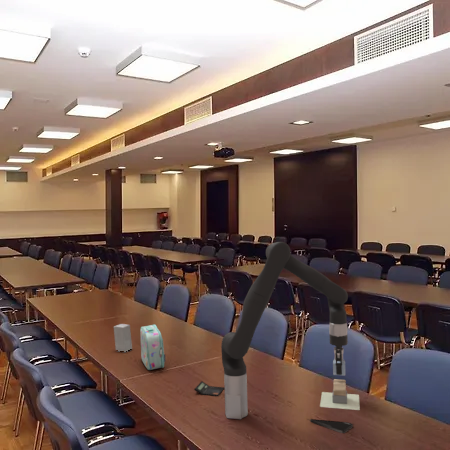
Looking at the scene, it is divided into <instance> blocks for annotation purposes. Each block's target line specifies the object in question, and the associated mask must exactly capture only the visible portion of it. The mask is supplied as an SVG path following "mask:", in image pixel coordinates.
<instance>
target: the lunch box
mask: <svg viewBox="0 0 450 450" xmlns="http://www.w3.org/2000/svg"><path fill="white" fill-rule="evenodd" d="M139 333H140V334H139V335H140V351H141V352H140V355H141V361H142V363H143V365H144V366H145V368H146V369H147V370H148V371H151V370H156V369H162V368H164V367H165V362H166V353H165V349H164V347H165V346H164V339H163V337H162V336H163V335H162V333H161V331H160V330H159V328H158V326H157V325H156V324H150V325H145V326H141V327H140V332H139Z"/></svg>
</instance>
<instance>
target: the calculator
mask: <svg viewBox="0 0 450 450" xmlns="http://www.w3.org/2000/svg"><path fill="white" fill-rule="evenodd" d="M193 391H195V392H196V393H198V394H200V395H201V396H209V397H210V396H211V397H219V396H220V395H221V394H222V393H223V391H225V386H224V387H222V386H210V385H208V384H207V383H206V382H204V381H203V380H201V381H200V382H199V383H198V384H197V386H196V387H195V388H194V390H193Z"/></svg>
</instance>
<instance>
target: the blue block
mask: <svg viewBox="0 0 450 450" xmlns="http://www.w3.org/2000/svg"><path fill="white" fill-rule="evenodd" d="M337 363H341V362H340V361H337ZM332 373H333V374H332V375H333V376H338V375H337V374H336V360H335V359H333V361H332ZM341 376H346V359H343V360H342V375H341Z"/></svg>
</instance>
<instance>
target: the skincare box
mask: <svg viewBox="0 0 450 450" xmlns="http://www.w3.org/2000/svg"><path fill="white" fill-rule="evenodd" d="M113 334H114V344H115V346H114V347H115V351H116V350H118V351H117V352H120V351H124V352H123V353H127V352H129V351H128V350H130V349H132V350H133V344H132V343H133V342H132V334H131V325H130V324H125V323H119V324H117V325H114V326H113ZM126 351H127V352H126ZM130 351H131V350H130Z"/></svg>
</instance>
